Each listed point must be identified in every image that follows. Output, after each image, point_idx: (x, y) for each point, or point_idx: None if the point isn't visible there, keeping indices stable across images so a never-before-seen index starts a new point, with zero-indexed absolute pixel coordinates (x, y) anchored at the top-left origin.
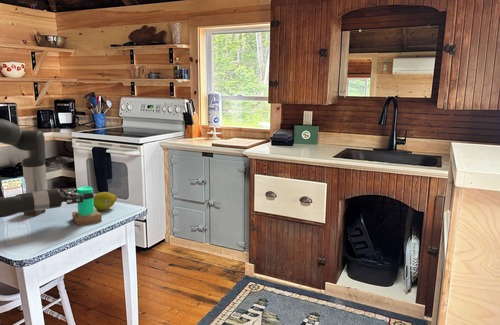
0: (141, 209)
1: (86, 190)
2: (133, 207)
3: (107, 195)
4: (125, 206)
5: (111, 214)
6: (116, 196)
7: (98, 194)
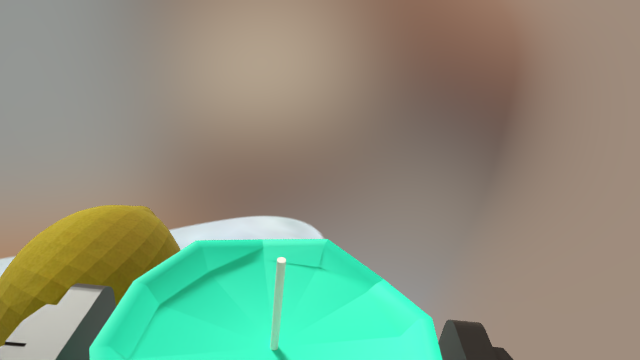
0: (295, 223)
1: (435, 353)
2: (236, 231)
3: (151, 235)
4: (184, 246)
5: None
6: (151, 211)
7: (73, 268)
